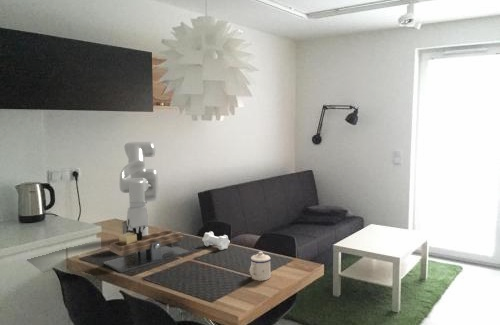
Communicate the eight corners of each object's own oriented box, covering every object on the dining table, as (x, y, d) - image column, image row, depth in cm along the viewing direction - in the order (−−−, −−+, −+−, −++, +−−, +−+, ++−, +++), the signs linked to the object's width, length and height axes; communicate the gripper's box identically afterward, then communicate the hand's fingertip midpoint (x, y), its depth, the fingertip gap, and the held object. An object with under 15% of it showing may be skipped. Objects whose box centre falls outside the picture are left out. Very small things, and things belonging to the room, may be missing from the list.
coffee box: (143, 247, 229) (142, 219, 228) (139, 251, 223) (137, 222, 221) (127, 247, 230) (126, 219, 229) (123, 251, 224) (121, 222, 222)
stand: (103, 263, 204) (102, 244, 203) (171, 246, 232) (170, 228, 231) (121, 272, 190) (120, 252, 189) (190, 253, 218) (190, 235, 217)
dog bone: (230, 249, 226) (231, 234, 226) (219, 251, 220) (219, 236, 219) (212, 244, 236) (212, 230, 236) (200, 246, 230) (201, 232, 229)
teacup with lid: (259, 272, 189) (258, 247, 188) (275, 276, 183) (274, 251, 182) (242, 280, 179) (242, 254, 178) (258, 284, 174) (258, 258, 173)
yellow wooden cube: (119, 246, 202) (119, 235, 201) (129, 243, 206) (129, 232, 206) (127, 248, 198) (126, 236, 197) (137, 245, 203) (136, 234, 202)
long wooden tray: (171, 240, 227) (170, 228, 227) (183, 245, 219) (183, 232, 218) (110, 256, 202) (109, 242, 202) (121, 262, 194) (120, 247, 193)
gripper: (146, 201, 212) (148, 235, 214) (120, 205, 202) (121, 241, 204) (154, 203, 207) (155, 238, 209) (127, 207, 197) (128, 244, 199)
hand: (138, 239), depth 206 cm, fingers closed
